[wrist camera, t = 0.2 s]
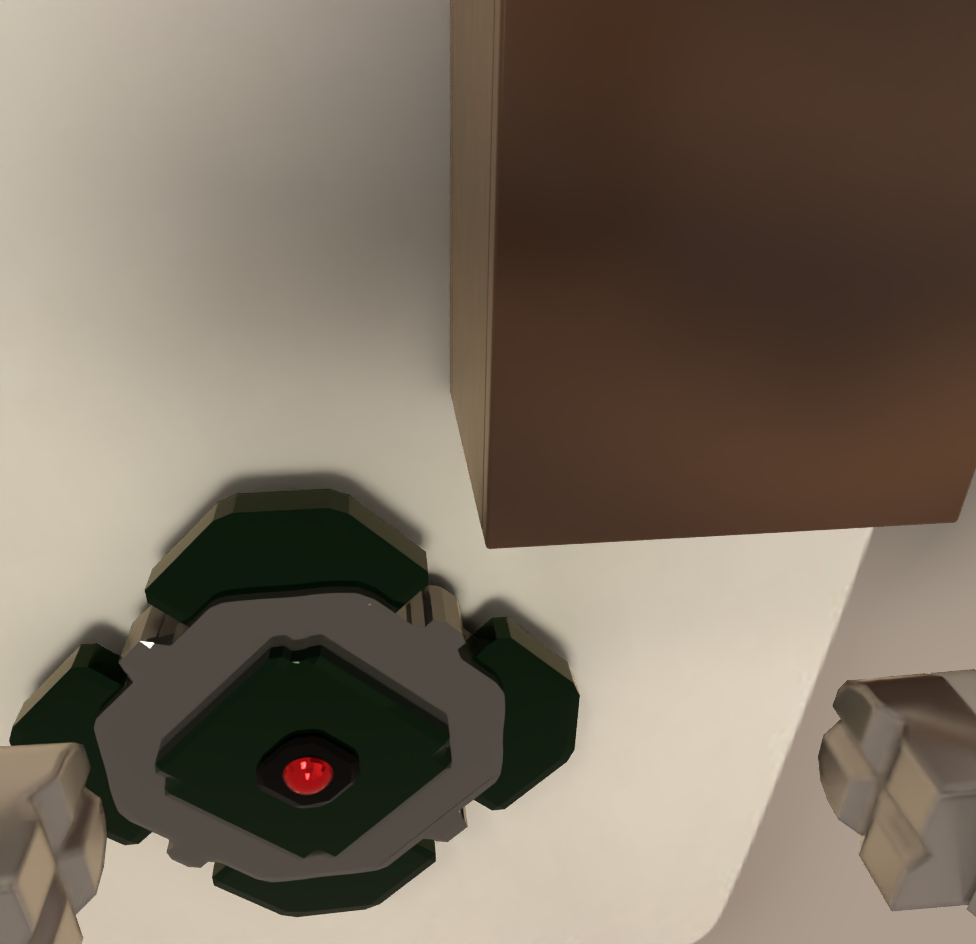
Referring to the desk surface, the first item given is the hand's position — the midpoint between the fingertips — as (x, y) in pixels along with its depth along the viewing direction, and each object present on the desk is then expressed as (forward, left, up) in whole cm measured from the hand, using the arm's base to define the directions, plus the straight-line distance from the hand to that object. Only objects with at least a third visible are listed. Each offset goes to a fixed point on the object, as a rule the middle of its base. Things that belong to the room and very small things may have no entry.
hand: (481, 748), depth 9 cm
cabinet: (-3, +8, -20) cm, 22 cm away
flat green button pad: (+18, -4, -20) cm, 28 cm away
